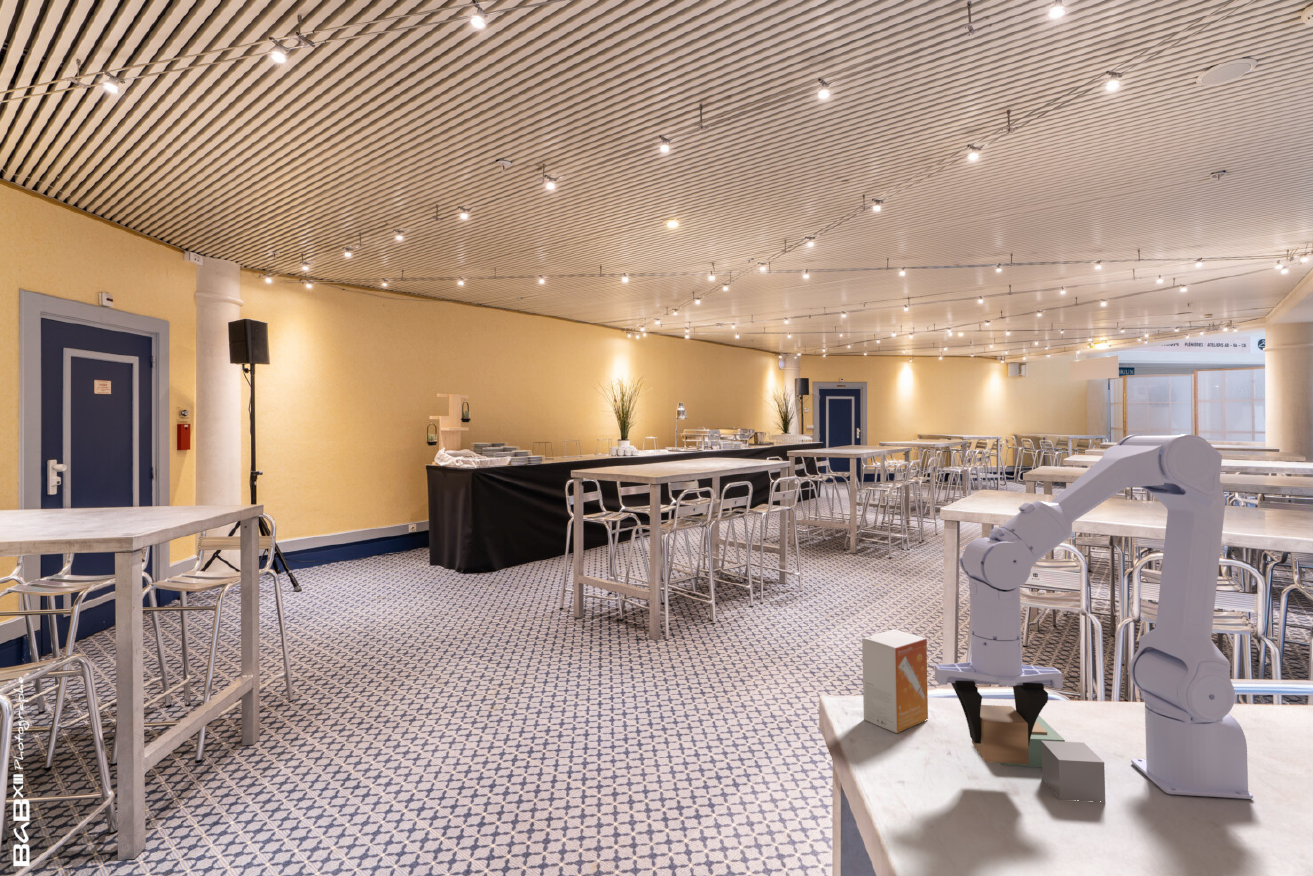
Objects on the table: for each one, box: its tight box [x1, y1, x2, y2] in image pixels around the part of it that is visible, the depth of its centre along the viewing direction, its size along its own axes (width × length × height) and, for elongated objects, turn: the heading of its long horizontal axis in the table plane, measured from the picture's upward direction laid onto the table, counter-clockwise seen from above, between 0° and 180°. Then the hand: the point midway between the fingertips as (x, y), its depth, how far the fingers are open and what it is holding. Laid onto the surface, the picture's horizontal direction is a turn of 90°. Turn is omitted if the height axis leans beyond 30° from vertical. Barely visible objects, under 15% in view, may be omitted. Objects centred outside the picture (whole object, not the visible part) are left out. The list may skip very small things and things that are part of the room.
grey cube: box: [1041, 741, 1106, 803], centre depth 80 cm, size 5×5×5 cm
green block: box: [998, 714, 1066, 768], centre depth 89 cm, size 8×8×4 cm
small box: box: [861, 628, 929, 734], centre depth 100 cm, size 8×6×13 cm
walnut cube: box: [971, 704, 1029, 764], centre depth 81 cm, size 5×5×5 cm
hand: (998, 741), depth 81 cm, fingers closed on walnut cube, 5 cm apart
